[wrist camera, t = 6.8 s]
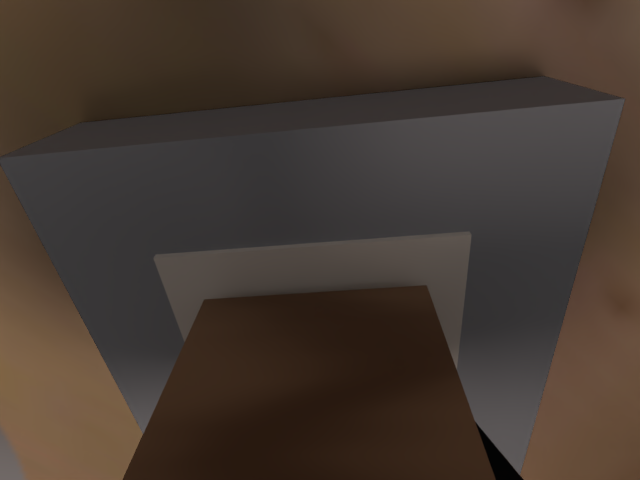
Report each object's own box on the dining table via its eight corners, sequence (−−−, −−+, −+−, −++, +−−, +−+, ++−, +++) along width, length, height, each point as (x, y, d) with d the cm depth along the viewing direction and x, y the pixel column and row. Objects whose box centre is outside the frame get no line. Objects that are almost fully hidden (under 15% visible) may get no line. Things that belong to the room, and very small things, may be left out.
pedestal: (544, 76, 10) (630, 100, 7) (488, 398, 15) (521, 480, 13) (80, 122, 10) (-9, 160, 8) (196, 411, 16) (169, 490, 14)
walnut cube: (426, 284, 8) (526, 566, 4) (420, 427, 11) (478, 697, 7) (204, 299, 9) (80, 572, 4) (246, 434, 11) (193, 694, 7)
